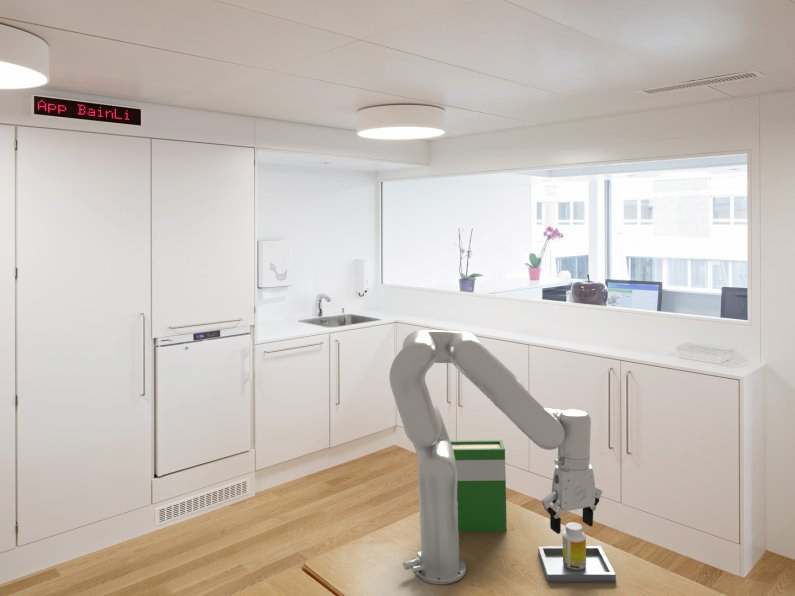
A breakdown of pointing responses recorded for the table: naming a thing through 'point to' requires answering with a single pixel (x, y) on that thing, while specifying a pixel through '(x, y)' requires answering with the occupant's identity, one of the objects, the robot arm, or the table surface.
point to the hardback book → (481, 485)
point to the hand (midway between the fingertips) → (571, 527)
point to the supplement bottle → (574, 546)
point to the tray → (593, 571)
